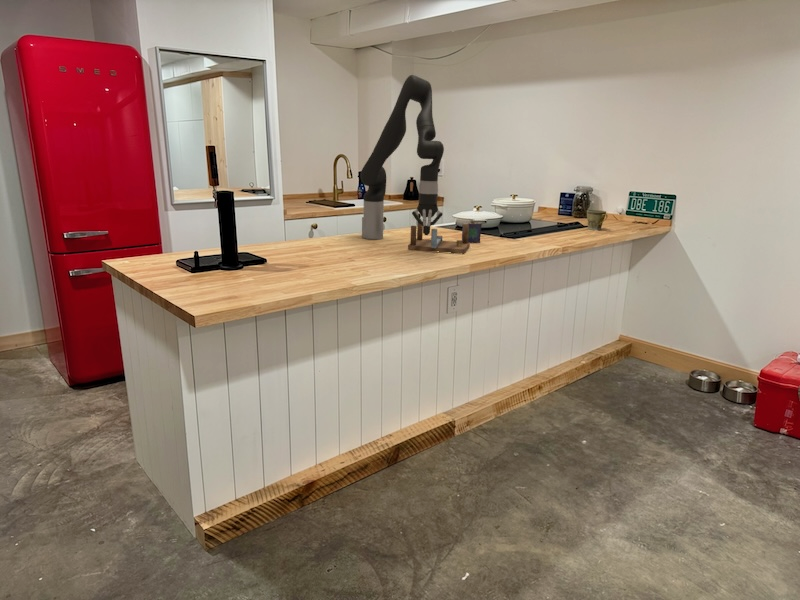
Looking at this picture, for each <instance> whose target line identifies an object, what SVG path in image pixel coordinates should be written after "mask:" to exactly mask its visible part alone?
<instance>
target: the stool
mask: <svg viewBox="0 0 800 600" xmlns="http://www.w3.org/2000/svg"><path fill="white" fill-rule="evenodd" d="M462 228H463V241H462V239H457V240H456V241H453V240H442V241H441V242H440V243H439V245H438V246H437V247H436V248H431V239H427V238H426V239H425V238H424V239H423V235H424V234H423V225H421V224H419V223H418V222H417V225H410V242H409V244H408V245H407V250H408V249H409V250H408V251H415V250H423V251H422V252H428V251H439V252H438V253H441V252H451V253H450V254H454V253H462V254H461V255H465V254H466V253H467V251H468V250H469V249H470V246H471V245H470V244H471V243H468V233H469V225H467V224H464V225H463V224H462ZM464 253H465V254H464Z"/></svg>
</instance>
